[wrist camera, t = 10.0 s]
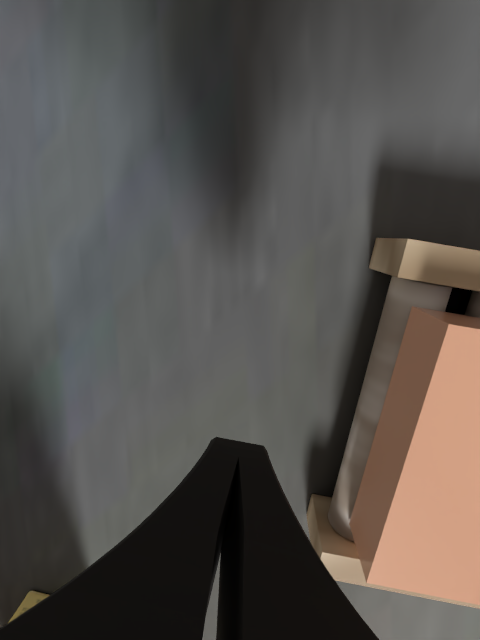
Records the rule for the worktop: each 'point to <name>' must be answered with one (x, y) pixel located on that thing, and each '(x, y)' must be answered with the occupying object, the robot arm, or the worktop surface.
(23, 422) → the worktop surface
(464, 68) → the worktop surface
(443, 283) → the roller bed
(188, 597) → the robot arm
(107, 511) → the worktop surface
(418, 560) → the slab
